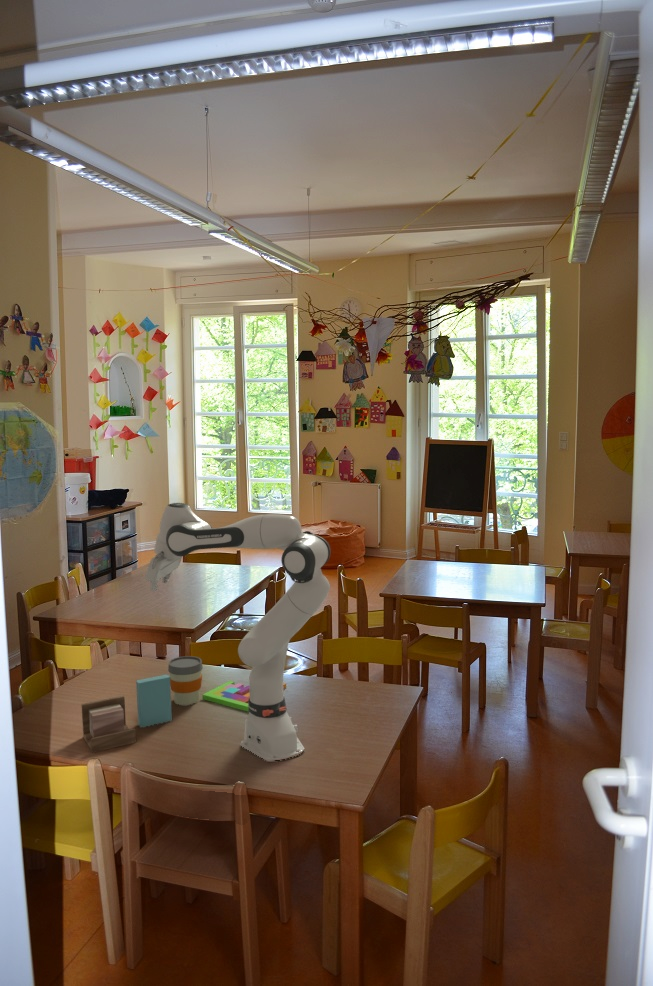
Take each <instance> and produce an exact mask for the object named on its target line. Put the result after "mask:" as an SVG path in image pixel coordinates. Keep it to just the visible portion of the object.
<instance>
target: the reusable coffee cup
mask: <svg viewBox="0 0 653 986" xmlns="http://www.w3.org/2000/svg"><path fill="white" fill-rule="evenodd" d="M167 669H168V670H167V672H169V677H170V688H171V692H172V695H173V702H174V704H176V705H178V704H179V706H191V705H194V704H193V703H195V704H196V703H198V702H199V701H198V700H199V699H200V689H201V688H202V682H203V673H202V671H203V661H202V658H200V657H199V656H193V655H185V656H178V657H175V658H172V659H170V660H169V661H168V668H167ZM190 704H191V705H190Z"/></svg>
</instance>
